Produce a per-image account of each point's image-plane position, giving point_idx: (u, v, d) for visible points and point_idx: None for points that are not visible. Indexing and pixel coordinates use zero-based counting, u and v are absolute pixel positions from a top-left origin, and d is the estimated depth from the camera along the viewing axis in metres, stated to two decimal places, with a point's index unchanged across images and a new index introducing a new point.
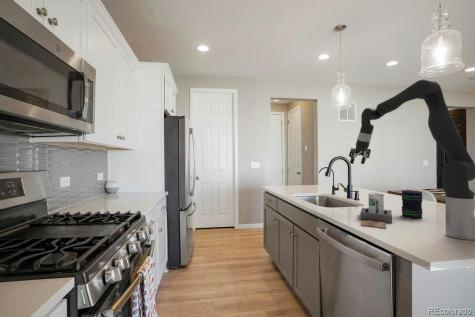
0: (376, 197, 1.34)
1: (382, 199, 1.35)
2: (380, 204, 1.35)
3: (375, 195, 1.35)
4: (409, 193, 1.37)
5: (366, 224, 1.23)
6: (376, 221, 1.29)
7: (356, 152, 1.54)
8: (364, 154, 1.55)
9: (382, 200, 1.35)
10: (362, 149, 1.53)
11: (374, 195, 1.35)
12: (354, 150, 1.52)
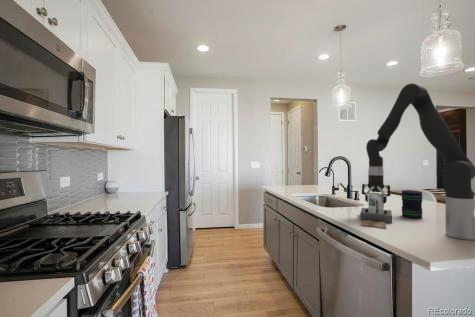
0: (376, 197, 1.34)
1: (382, 199, 1.35)
2: (380, 204, 1.35)
3: (375, 195, 1.35)
4: (409, 193, 1.37)
5: (366, 224, 1.23)
6: (376, 221, 1.29)
7: None
8: (380, 191, 1.35)
9: (382, 200, 1.35)
10: (375, 185, 1.36)
11: (374, 195, 1.35)
12: (363, 185, 1.39)
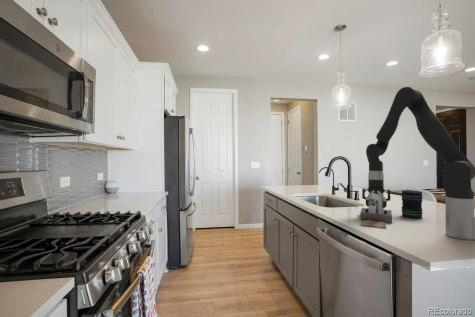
0: (376, 197, 1.34)
1: (382, 199, 1.35)
2: (380, 204, 1.35)
3: (375, 195, 1.35)
4: (409, 193, 1.37)
5: (366, 224, 1.23)
6: (376, 221, 1.29)
7: (370, 193, 1.39)
8: (380, 195, 1.35)
9: (382, 200, 1.35)
10: (375, 189, 1.36)
11: (374, 195, 1.35)
12: (364, 190, 1.39)
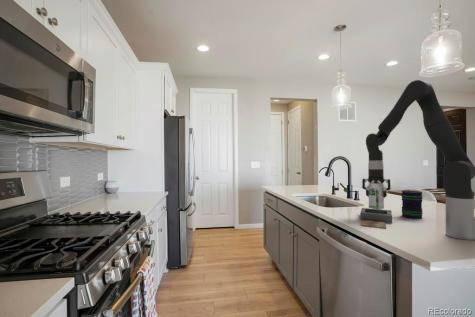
0: (376, 187, 1.34)
1: (382, 189, 1.35)
2: (381, 194, 1.35)
3: (375, 184, 1.35)
4: (409, 193, 1.37)
5: (366, 224, 1.23)
6: (376, 221, 1.29)
7: (370, 183, 1.39)
8: (380, 185, 1.35)
9: (382, 190, 1.35)
10: (375, 179, 1.36)
11: (374, 185, 1.35)
12: (364, 180, 1.39)
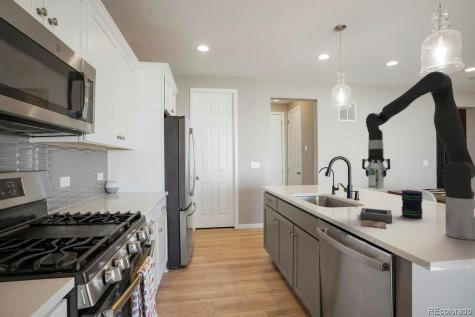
0: (376, 166, 1.34)
1: (382, 168, 1.35)
2: (380, 173, 1.35)
3: (375, 164, 1.35)
4: (409, 193, 1.37)
5: (366, 224, 1.23)
6: (376, 221, 1.29)
7: (370, 163, 1.38)
8: (380, 164, 1.35)
9: (382, 169, 1.35)
10: (375, 158, 1.36)
11: (374, 164, 1.35)
12: (363, 160, 1.39)
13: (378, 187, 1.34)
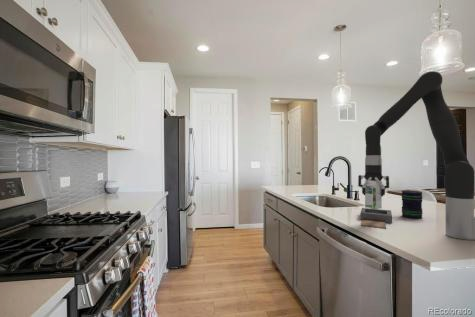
0: (373, 184, 1.22)
1: (380, 186, 1.23)
2: (378, 192, 1.22)
3: (372, 182, 1.22)
4: (409, 193, 1.37)
5: (366, 224, 1.23)
6: (376, 221, 1.29)
7: (367, 180, 1.26)
8: None
9: (380, 187, 1.23)
10: (373, 175, 1.24)
11: (371, 182, 1.23)
12: (360, 177, 1.27)
13: (376, 207, 1.22)
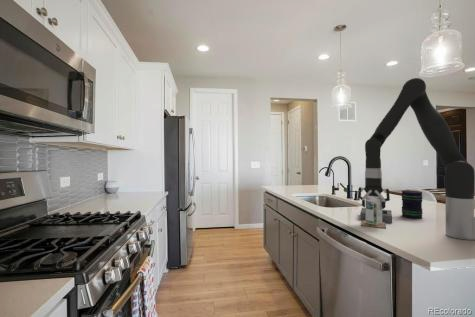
0: (374, 200, 1.22)
1: (381, 202, 1.23)
2: (379, 208, 1.22)
3: (373, 197, 1.22)
4: (409, 193, 1.37)
5: (366, 224, 1.23)
6: None
7: (366, 192, 1.26)
8: (378, 195, 1.22)
9: (380, 203, 1.23)
10: (373, 188, 1.24)
11: (372, 198, 1.23)
12: (360, 189, 1.27)
13: (376, 223, 1.21)
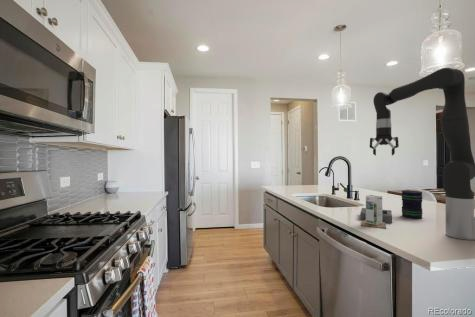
0: (374, 200, 1.21)
1: (381, 202, 1.23)
2: (379, 208, 1.22)
3: (373, 197, 1.22)
4: (409, 193, 1.37)
5: (366, 224, 1.23)
6: None
7: None
8: (388, 143, 1.36)
9: (381, 203, 1.23)
10: (383, 137, 1.38)
11: (372, 198, 1.23)
12: (371, 139, 1.41)
13: (376, 223, 1.21)
